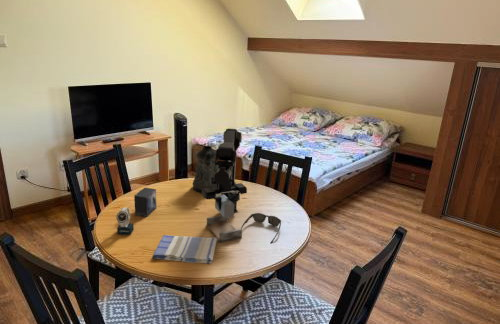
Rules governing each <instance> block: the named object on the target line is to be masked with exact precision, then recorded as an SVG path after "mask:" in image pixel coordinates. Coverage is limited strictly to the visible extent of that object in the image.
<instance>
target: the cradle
mask: <svg viewBox="0 0 500 324" xmlns="http://www.w3.org/2000/svg"><path fill="white" fill-rule="evenodd" d="M206 227H207V228H208V229H209V230H210V232H211V233H212V234H213V235H214V238H217V242H218V241H219V243H220V244H221V243H225V242H230V241H234V240H239V239H242V237H243V228H242V229H241V228H238V229H237V228H235V227H234V226H233V224H231V222H230V221H229V218H226V219H225V218H224V217H223V216H222V215H221V214H219V215H215V216H209V217H206Z"/></svg>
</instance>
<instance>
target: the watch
mask: <svg viewBox="0 0 500 324" xmlns="http://www.w3.org/2000/svg"><path fill="white" fill-rule="evenodd" d="M115 219H116V221H117V224H118V226H117V228H116V230H117V235H124V236H127V235H128V236H131V235H132V233H133V232H134V230H135V229H134V228H135V227H134V223H132V222H131V223H130V220H131V212H130V208H129V207H122V208H120V210H119V211H118V213H117V214H116V217H115Z"/></svg>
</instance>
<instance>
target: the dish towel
mask: <svg viewBox="0 0 500 324" xmlns="http://www.w3.org/2000/svg"><path fill="white" fill-rule="evenodd" d="M217 242H218V239H217V238H216V237H215V236H214V237H202V236H199V237H198V236H186V235H185V236H184V235H183V236H182V235H178V236H176V235H166V234H163V236H162V238H161V239H160V241H159V243H158V245H157V247H156V249H155V250H154V253H153V255H152V257H151V259H154V260H155V259H156V260H163V261H164V260H165V261H171V262H173V261H174V262H176V261H177V262H183V263H194V264H195V263H197V264H198V263H200V264H212V262H213V261H214V256H215V250H216V246H217Z"/></svg>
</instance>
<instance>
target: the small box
mask: <svg viewBox="0 0 500 324" xmlns="http://www.w3.org/2000/svg"><path fill="white" fill-rule="evenodd" d="M133 197H134V216H137V217H143V218H144V217H145V218H147V217H148V216H149V215H150V214H152V213H153V212H154V211H155V210H156V209H157V189H156V188H150V187H143V189H141V190H140V191H138V192H137V193H135V194H134V196H133Z"/></svg>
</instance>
